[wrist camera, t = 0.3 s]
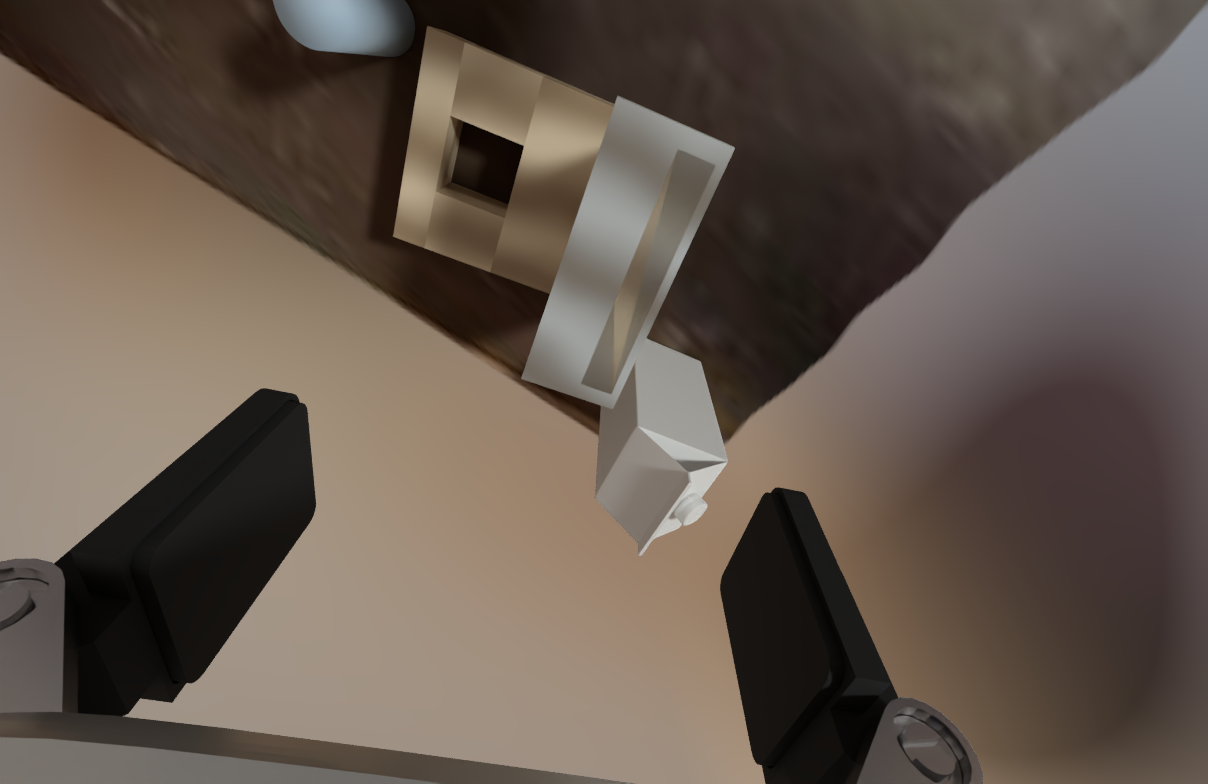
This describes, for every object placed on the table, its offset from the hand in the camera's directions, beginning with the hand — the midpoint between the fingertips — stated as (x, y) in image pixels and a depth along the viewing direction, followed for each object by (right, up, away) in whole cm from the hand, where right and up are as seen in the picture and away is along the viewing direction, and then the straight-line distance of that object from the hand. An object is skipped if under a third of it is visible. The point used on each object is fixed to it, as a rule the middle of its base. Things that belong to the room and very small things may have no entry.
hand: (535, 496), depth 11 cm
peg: (-14, +28, +25) cm, 40 cm away
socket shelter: (-4, +19, +30) cm, 36 cm away
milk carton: (+6, +4, +39) cm, 40 cm away
